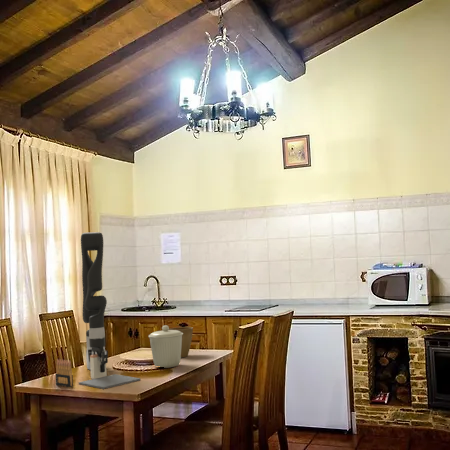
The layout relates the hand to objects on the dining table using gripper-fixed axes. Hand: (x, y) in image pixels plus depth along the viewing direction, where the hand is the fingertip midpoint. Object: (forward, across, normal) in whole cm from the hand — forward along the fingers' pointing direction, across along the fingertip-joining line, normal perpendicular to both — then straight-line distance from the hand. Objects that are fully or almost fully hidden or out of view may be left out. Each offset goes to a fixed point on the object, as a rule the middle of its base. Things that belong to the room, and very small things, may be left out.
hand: (98, 371), depth 267 cm
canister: (+3, +10, +35) cm, 37 cm away
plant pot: (+3, -6, +59) cm, 59 cm away
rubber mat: (+3, +15, -4) cm, 16 cm away
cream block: (+3, 0, 0) cm, 3 cm away
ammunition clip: (+3, +1, -19) cm, 20 cm away
